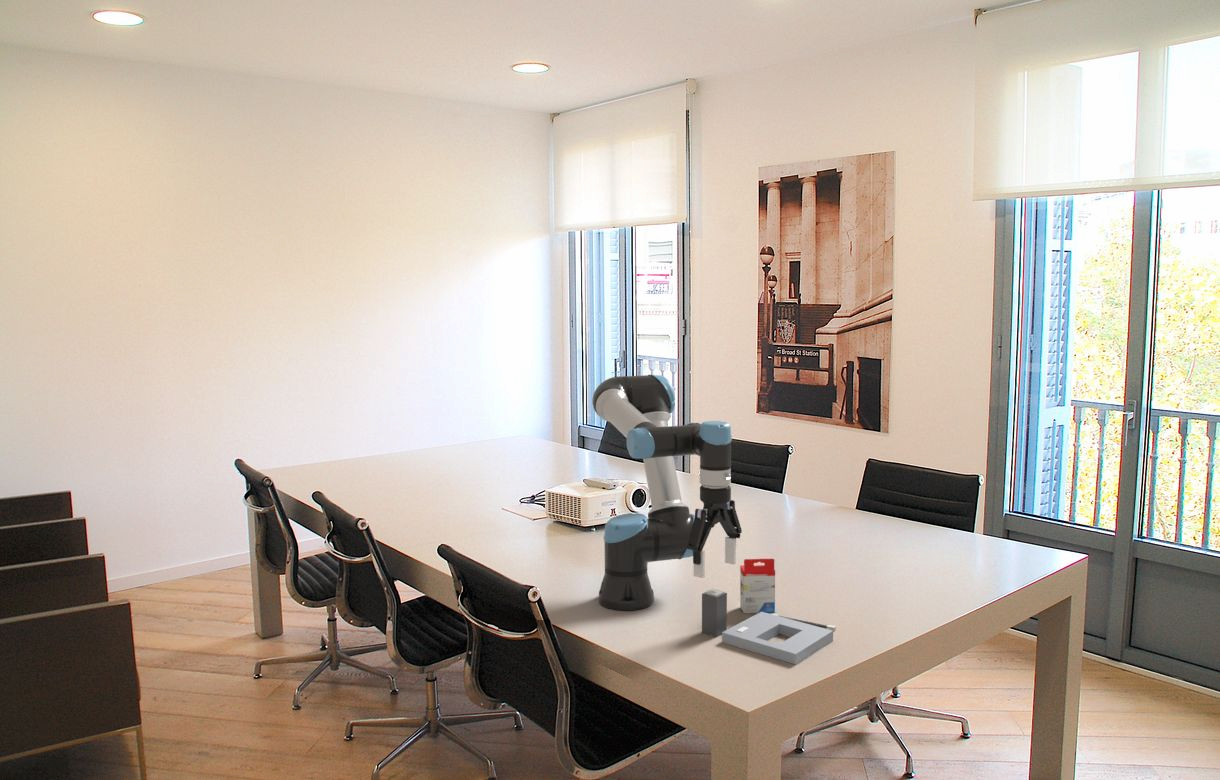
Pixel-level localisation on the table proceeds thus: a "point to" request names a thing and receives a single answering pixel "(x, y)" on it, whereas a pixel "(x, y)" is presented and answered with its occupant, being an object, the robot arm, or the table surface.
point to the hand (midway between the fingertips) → (715, 570)
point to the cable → (813, 623)
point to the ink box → (757, 586)
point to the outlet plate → (767, 626)
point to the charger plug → (714, 612)
